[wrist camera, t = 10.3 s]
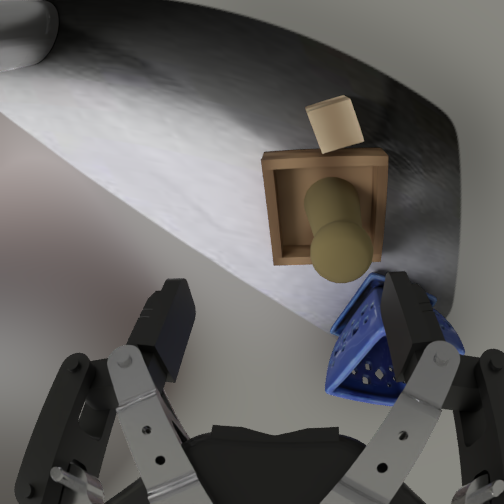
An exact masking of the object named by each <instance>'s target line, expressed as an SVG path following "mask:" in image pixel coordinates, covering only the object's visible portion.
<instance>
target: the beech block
mask: <svg viewBox="0 0 504 504" xmlns="http://www.w3.org/2000/svg"><path fill="white" fill-rule="evenodd" d="M305 108H306V112H307V115H308V117H309V120H310V122H311V125H312V127H313V130H314V133H315V135H316V138H317V141H318V143H319V146H320V149H321V152H322V154H324V153H327V152H330V151H333V150H337V149H340V148H343V147H347V146H350V145H353V144H357V143H360V142H364V139H363V135H362V132H361V129H360V126H359V123H358V120H357V117H356V114H355V111H354V108H353V105H352V102H351V99H350V98H348V97H346V96H344V95H342V96H339V97H335V98H332V99H329V100H325V101H322V102H319V103H316V104H313V105H310V106H307V107H305Z"/></svg>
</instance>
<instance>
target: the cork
mask: <svg viewBox="0 0 504 504" xmlns="http://www.w3.org/2000/svg"><path fill="white" fill-rule="evenodd" d="M304 209H305V212H306V215H307V218H308V221H309V224H310V227H311V230H312V233H313V236H314V238H313V241H312V243H311V248H310V258H311V261H312V264H313V266H314V268H315V270H316V271H317V272H318V273H319V275H320V276H322V277H324V278H325V279H327V280H329V281H331V282H335V283H347V282H351V281H354V280H356V279H358V278H360V277H361V276H362V275H363V274H364V273H365V272H366V271H367V270H368V268H369V266H370V265H371V263H372V259H373V250H374V249H373V245H372V241H371V238H370V236H369V235H368V234H367V232H366V231H365V230H364V229H363V228H362V220H361V210H360V200H359V196H358V193H357V191H356V189H355V188H354V186H353V185H352V184H350V183H349V182H348V181H346V180H344V179H341V178H338V177H326V178H323V179H320V180H318V181H317V182H315V183H314V184H312V185H311V186H310V188H309V189H308V190H307V192H306V195H305V198H304Z"/></svg>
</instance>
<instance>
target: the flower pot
mask: <svg viewBox="0 0 504 504" xmlns="http://www.w3.org/2000/svg"><path fill="white" fill-rule="evenodd" d="M385 277H386V276H383V275H381V274H378V273H374V272H372V273H370V274H369V275H368V277H367V278H366V279H365V281H364V282H363V284H362V285H361V287H360V288H359V289H358V291H357V292H356V294H355V295H354V296H353V298H352V299H351V301H350V302H349V304H348V305H347V306H346V308H345V309H344V311H343V312H342V313H341V315H340V316H339V317H338V319H337V320H336V322H335V323H334V324H333V326H332V328H331V330H330V333H331V334H333V335H336V336H339V338H338V340H337V342H336V344H335V346H334V349H333V351H332V354H331V358H330V361H329V365H328V370H327V376H326V384H325V391H326V393H327V394H330V395H333V396H337V397H342V398H346V399H350V400H355V401H360V402H366V403H371V404H378V405H385V406H393V405H394V404H395V402H396V400H397V399H398V397H399V395H400V394H401V392H402V391H403V390H404V388H405V386H406V384H405V382H404V381H403V382H396V379H395V374H394V369H393V364H392V359H391V355H390V350H389V346H388V342H387V337H386V333H385V329H384V325H383V321H382V317H381V310H380V304H381V298H382V292H383V287H384V282H385ZM427 296H428V298H429V300H430V304H431V305H432V307H433V306H434V305H435V304H436V302H437V299H436V297H435V296H433V295H431V294H429V293H427ZM433 312H435V315H436V317H437V320H438V322H439V325H440V328H441V330H442V333H443V335H444V338H445V341H446V342H448V343H450V344H452V345H453V346H454V347H455V348H456V349H457V350H458V352H459V354H461V355H464V353H465V350H464V347H463V344H462V342H461V340H460V338H459V336H458V334H457V333H456V331H455V330H454V328H453V327H452V325H451V324H450V323H449V322H448V321H447V320H446V319H445V318H444V317H443V316H442V315H441V314H440V313H439V312H437V311H436V310H435V309H433ZM365 364H369V368H370V370H366V368H365ZM389 368H391V369H392V371H390V370H389ZM378 369H380V370H381V371H382V372H383V375H384V376H383V377H382V379H381V380H380V379H379V378H378V377H377V376H376V375H375V372H376V371H377V370H378ZM353 370H355V372H356V373H355V375H354V374H352V371H353ZM363 377H366V378H368V384H364V383H363V379H362V378H363ZM393 377H394V379H395V380H394V379H393ZM388 385H389V387H388Z"/></svg>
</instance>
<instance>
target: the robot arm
mask: <svg viewBox="0 0 504 504" xmlns="http://www.w3.org/2000/svg"><path fill="white" fill-rule="evenodd" d="M58 26H59V17H58V12H57V10H56V8H55V6H54V5H53V4H52V3H50V2H48V1H37V0H0V72H4V71H8V70H13V69H17V68H22V67H26V66H31V65H35V64H37V63H38V62H40V61H41V60H42V59H44V58H45V56H46V55H47V54H48V53H49V51H50V49H51V48H52V46H53V44H54V42H55V39H56V36H57V32H58ZM380 310H381V317H382V321H383V325H384V329H385V333H386V337H387V342H388V346H389V350H390V355H391V359H392V364H393V369H394V374H395V379H396V382H403V381H405V384H406V386H405V388H404V390H403V391H402V392H401V394H400V395H399V397H398V399H397V400H396V402H395V404H394V405H393V407H392V409H391V410H390V412H389V414H388V415H387V417H386V418H385V420H384V421H383V423H382V424H381V426H380V427H379V429H378V430H377V432H376V433H375V435H374V436H373V438H372V439H371V440H370V442H369V443H368V445H367V446H366V445H365V444H364V443H362V442H360V441H358V440H356V439H354V438H351V437H348V436H345V435H339V427H330V428H307V429H303V430H299V431H295V432H290V433H285V434H281V435H269V434H265V433H261V432H258V431H254V430H250V429H247V428H243V427H232V426H220V425H213V427H212V432H210V433H205V434H201V435H198V436H196V437H194V438H191V439H190V437H189V436H188V434H187V433H186V431H185V430H184V428H183V426H182V425H181V423H180V421H179V419H178V417H177V415H176V414H175V411H174V409H173V407H172V405H171V403H170V401H169V399H168V397H167V395H166V393H165V391H164V389H163V388H164V385H165V382H173V383H175V382H176V378H177V375H178V372H179V368H180V365H181V362H182V358H183V355H184V352H185V349H186V346H187V342H188V339H189V336H190V333H191V330H192V327H193V324H194V320H195V314H196V313H195V312H196V311H195V305H194V301H193V299H192V295H191V292H190V289H189V286H188V283H187V281H186V279H184V278H183V279H182V278H181V279H180V278H178V279H167V280H166V281H165V283H164V285H163V288H162V290H161V291H155V293H153V294H152V295H151V297H149V298H148V300H147V302H146V304H145V306H144V308H143V310H142V312H141V314H140V318H138V320H137V322H136V325H135V326H134V329H133V331H132V333H131V335H130V337H129V339H128V342H127V344H126V345H124V346H121V347H118V348H117V349H115V350H114V351H113V352H112V353H111V354H110V356H109V358H107V359H101V360H95V361H90V360H89V358H88V357H87V356H86V355H85V354H83V353H75V354H72V355H70V356H69V357H67V358H66V359H65V361H64V362H63V364H62V365H61V367H60V369H59V372H58V374H57V376H56V378H55V380H54V382H53V385H52V387H51V389H50V391H49V394H48V396H47V398H46V401H45V403H44V406H43V408H42V410H41V413H40V415H39V418H38V420H37V423H36V425H35V428H34V430H33V433H32V436H31V439H30V441H29V444H28V447H27V449H26V452H25V455H24V458H23V461H22V464H21V467H20V470H19V473H18V477H17V480H16V483H15V496H16V499H17V501H18V502H19V504H426V503H425V502H424V501H423V500H422V499H421V498H420V497H419V496H417V495H416V494H415V493H414V492H413V491H412V490H411V489H410V488H409V487H408V486H407V485H406V484H405V483H404V480H405V478H406V477H407V475H408V474H409V472H410V470H411V469H412V467H413V465H414V464H415V462H416V460H417V459H418V457H419V455H420V454H421V452H422V450H423V448H424V446H425V444H426V442H427V441H428V439H429V437H430V435H431V433H432V431H433V429H434V427H435V425H436V423H437V421H438V419H439V417H440V415H441V412H442V410H441V409H449V410H453V414H454V420H455V426H456V433H457V440H458V447H459V455H460V465H461V475H462V487H461V488H460V489H459V490H458V491H457V492H456V493H455V495H454V497H453V499H452V502H451V504H504V353H503V352H502V351H500V350H497V349H489V350H486V351H485V352H484V353H483V354H482V356H481V357H480V358H479V357H472V356H465V355H461V354H459V352H458V350H457V349H456V348H455V347H454V346H453V345H452V344H450V343H448V342H446V341H445V338H444V335H443V333H442V330H441V328H440V325H439V322H438V320H437V317H436V315H435V312H433V308H432V305H431V304H430V300H429V298H428V296H427V293H426V292H425V291H424V290H423V289H422V288H421V287H420V286H419V285H418V284H411V283H410V280H409V278H408V276H407V273H406V272H405V271H403V272H387V274H386V277H385V282H384V287H383V292H382V298H381V304H380ZM84 402H85V405H84V408H83V411H82V413H81V410H82V407H83V404H84ZM80 413H81V416H80V419H79V415H80ZM116 413H117V415H118V418H119V421H120V424H121V427H122V430H123V433H124V435H125V438H126V441H127V444H128V446H129V449H130V451H131V454H132V456H133V459H134V461H135V464H136V466H137V469H138V471H139V473H140V476H141V477H140V478H139V479H137V480H136V481H135V482H134V483H132V484H131V485H129V486H128V487H127V488H125V489H124V490H122V491H121V492H120V493H118V494H117V495H115V496H114V497H113V498H111V499H110V500H108V501H107V502H106V503H104V502H103V499H104V498H105V494H104V492H103V487H102V484H101V482H100V481H99V479H98V477H99V473H100V469H101V465H102V461H103V458H104V454H105V451H106V447H107V444H108V440H109V436H110V433H111V429H112V426H113V423H114V420H115V416H116ZM78 419H79V420H78Z"/></svg>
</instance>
